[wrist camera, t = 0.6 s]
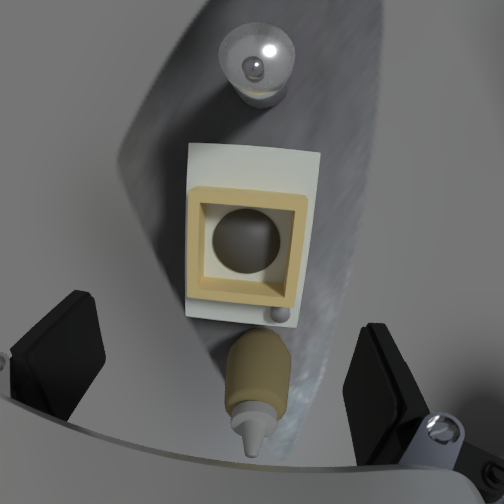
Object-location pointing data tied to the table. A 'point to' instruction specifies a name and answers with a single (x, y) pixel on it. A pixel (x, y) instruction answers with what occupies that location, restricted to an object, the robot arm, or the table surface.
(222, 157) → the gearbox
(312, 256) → the table surface
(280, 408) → the squeeze bottle
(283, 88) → the spout can
